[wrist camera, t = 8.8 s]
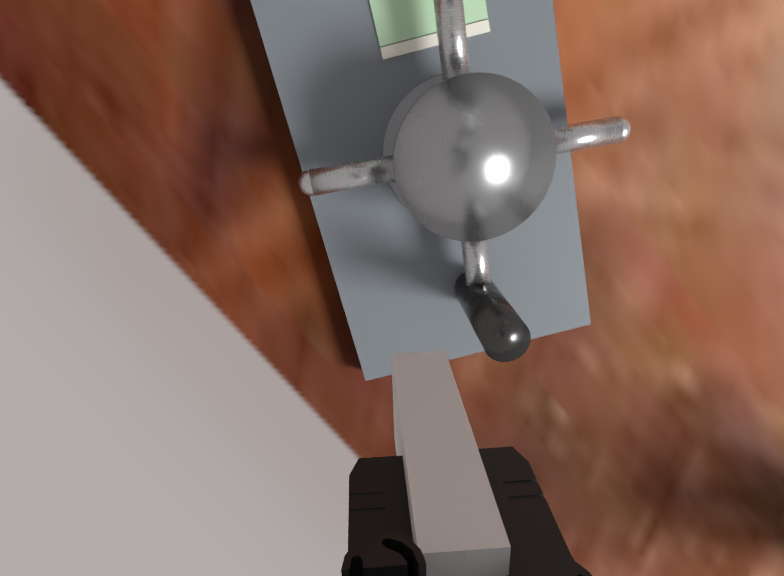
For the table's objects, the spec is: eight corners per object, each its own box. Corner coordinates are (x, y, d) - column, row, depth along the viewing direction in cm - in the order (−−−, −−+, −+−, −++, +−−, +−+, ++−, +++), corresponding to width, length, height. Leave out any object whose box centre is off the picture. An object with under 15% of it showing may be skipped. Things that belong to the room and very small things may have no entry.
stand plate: (251, -8, 23) (245, -14, 22) (532, -84, 23) (542, -94, 22) (365, 370, 30) (365, 381, 29) (581, 315, 30) (591, 324, 29)
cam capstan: (335, 327, 28) (329, 393, 21) (257, -29, 22) (219, -80, 16) (612, 279, 28) (686, 330, 22) (609, -88, 22) (709, -162, 16)
